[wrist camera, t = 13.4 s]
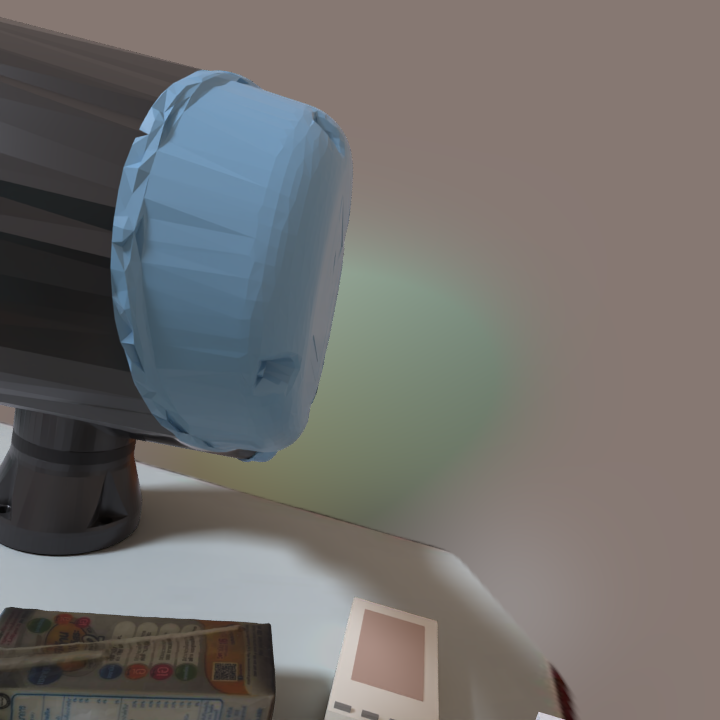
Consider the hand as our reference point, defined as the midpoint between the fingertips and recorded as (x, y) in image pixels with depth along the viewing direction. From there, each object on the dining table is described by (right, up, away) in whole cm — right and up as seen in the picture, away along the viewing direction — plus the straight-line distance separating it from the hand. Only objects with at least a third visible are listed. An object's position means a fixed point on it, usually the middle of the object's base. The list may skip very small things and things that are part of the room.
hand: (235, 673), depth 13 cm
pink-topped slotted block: (+4, -21, +34) cm, 40 cm away
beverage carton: (-14, -18, +27) cm, 35 cm away
